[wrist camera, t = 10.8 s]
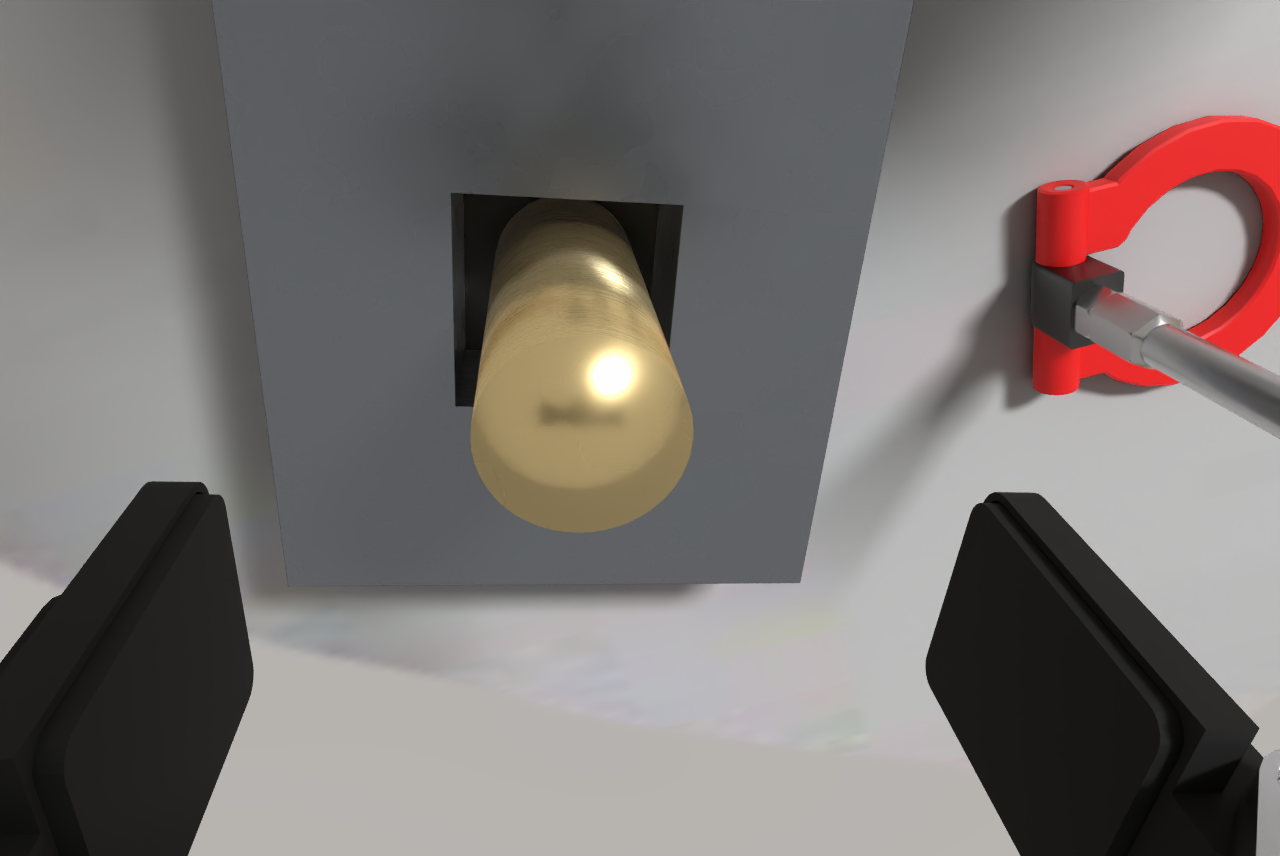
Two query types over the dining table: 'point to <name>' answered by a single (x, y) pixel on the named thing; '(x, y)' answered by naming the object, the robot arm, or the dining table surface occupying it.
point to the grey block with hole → (567, 169)
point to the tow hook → (1130, 329)
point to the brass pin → (575, 376)
